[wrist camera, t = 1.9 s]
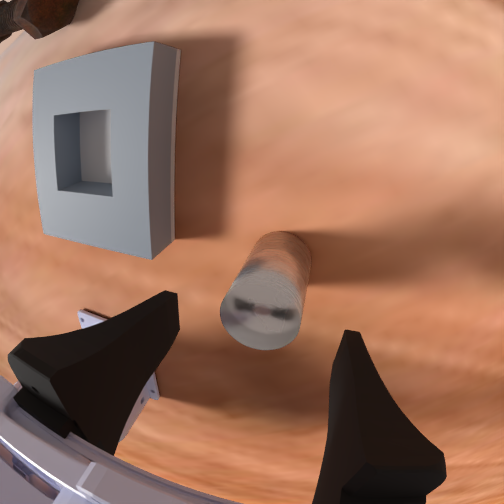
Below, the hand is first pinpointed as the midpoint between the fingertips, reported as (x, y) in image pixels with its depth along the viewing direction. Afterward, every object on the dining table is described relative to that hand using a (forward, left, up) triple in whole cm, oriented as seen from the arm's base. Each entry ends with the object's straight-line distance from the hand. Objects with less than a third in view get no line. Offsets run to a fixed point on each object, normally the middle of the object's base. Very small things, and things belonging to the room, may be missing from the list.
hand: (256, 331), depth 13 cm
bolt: (+19, +24, -7) cm, 31 cm away
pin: (0, 0, -7) cm, 7 cm away
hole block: (+6, +12, -7) cm, 15 cm away
